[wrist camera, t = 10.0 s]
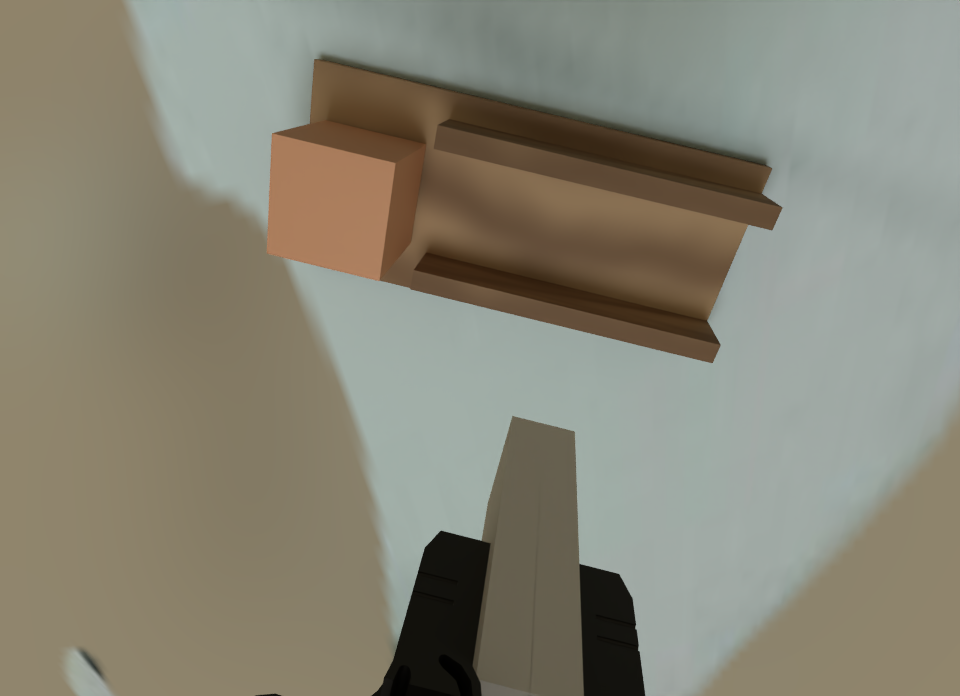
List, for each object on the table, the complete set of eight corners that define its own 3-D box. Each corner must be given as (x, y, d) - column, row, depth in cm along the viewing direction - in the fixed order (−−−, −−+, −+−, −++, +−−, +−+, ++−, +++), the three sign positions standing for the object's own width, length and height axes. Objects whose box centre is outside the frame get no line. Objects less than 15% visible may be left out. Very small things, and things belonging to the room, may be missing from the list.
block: (325, 120, 34) (272, 133, 28) (426, 144, 34) (395, 163, 27) (317, 220, 36) (266, 253, 30) (410, 243, 36) (379, 281, 30)
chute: (320, 59, 34) (288, 59, 29) (766, 165, 33) (795, 180, 29) (306, 256, 39) (276, 278, 35) (688, 349, 38) (703, 383, 34)
